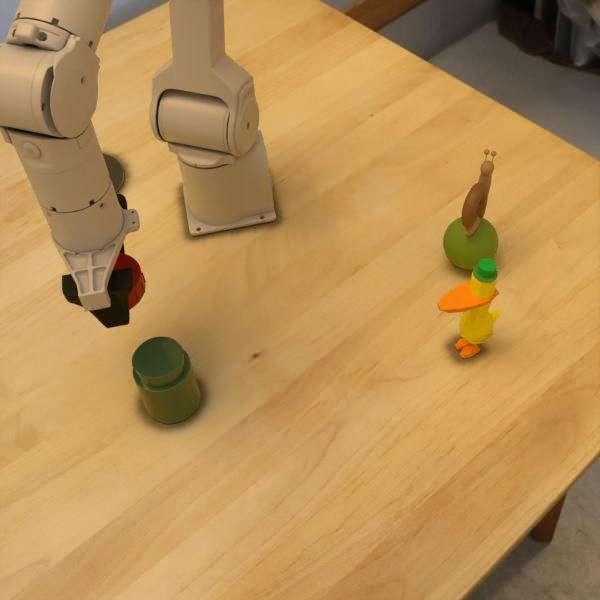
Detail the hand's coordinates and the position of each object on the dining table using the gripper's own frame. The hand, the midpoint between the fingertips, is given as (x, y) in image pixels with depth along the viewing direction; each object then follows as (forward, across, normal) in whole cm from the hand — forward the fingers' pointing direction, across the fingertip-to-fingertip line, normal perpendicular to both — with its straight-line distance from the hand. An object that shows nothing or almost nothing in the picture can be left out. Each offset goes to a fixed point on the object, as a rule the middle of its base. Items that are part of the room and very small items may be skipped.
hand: (115, 296), depth 76 cm
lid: (-2, 0, 0) cm, 2 cm away
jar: (+9, -6, -3) cm, 11 cm away
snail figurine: (+10, +5, -35) cm, 36 cm away
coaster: (+9, +26, +4) cm, 28 cm away
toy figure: (+10, -6, -31) cm, 33 cm away
